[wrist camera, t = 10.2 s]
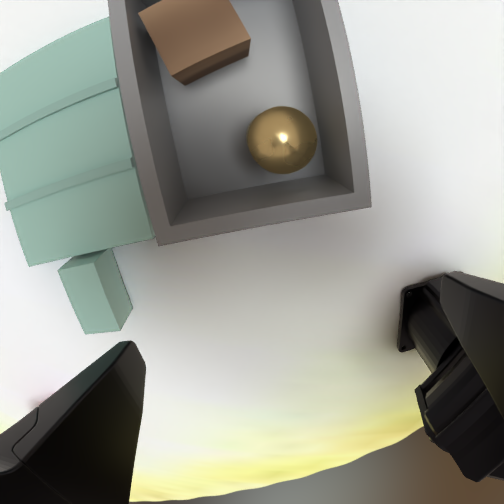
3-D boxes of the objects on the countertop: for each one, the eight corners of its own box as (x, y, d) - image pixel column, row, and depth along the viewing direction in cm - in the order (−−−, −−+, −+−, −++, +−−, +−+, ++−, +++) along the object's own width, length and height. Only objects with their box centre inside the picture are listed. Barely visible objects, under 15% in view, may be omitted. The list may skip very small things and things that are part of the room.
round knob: (304, 159, 18) (321, 168, 14) (251, 168, 18) (254, 179, 15) (296, 106, 17) (311, 101, 13) (241, 115, 17) (241, 112, 13)
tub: (335, 183, 20) (371, 207, 14) (180, 211, 20) (158, 246, 14) (296, -20, 14) (316, -65, 9) (139, 8, 15) (105, -27, 9)
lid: (180, 301, 22) (172, 324, 19) (63, 317, 23) (47, 337, 20) (117, 23, 15) (100, 9, 12) (0, 82, 15) (-24, 80, 13)
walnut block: (248, 56, 16) (251, 38, 12) (185, 85, 16) (170, 75, 12) (219, 3, 14) (214, -24, 11) (157, 33, 15) (138, 12, 11)
